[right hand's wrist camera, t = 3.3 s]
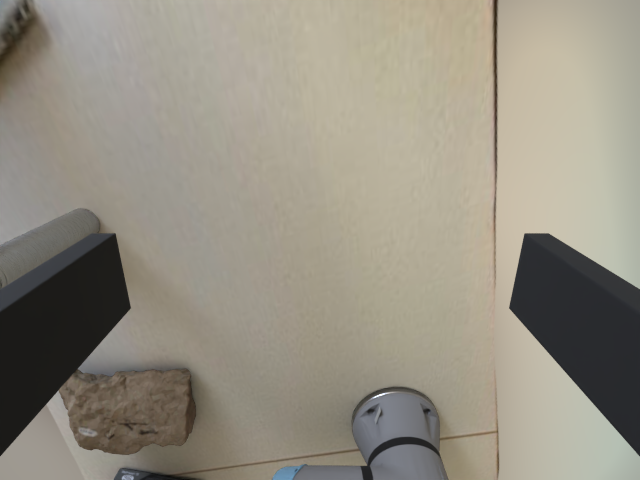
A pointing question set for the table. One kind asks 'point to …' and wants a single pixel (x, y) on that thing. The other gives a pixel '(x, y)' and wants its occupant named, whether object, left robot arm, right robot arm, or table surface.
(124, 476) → the graphics card box
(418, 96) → the table surface
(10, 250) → the bottle
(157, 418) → the stone
